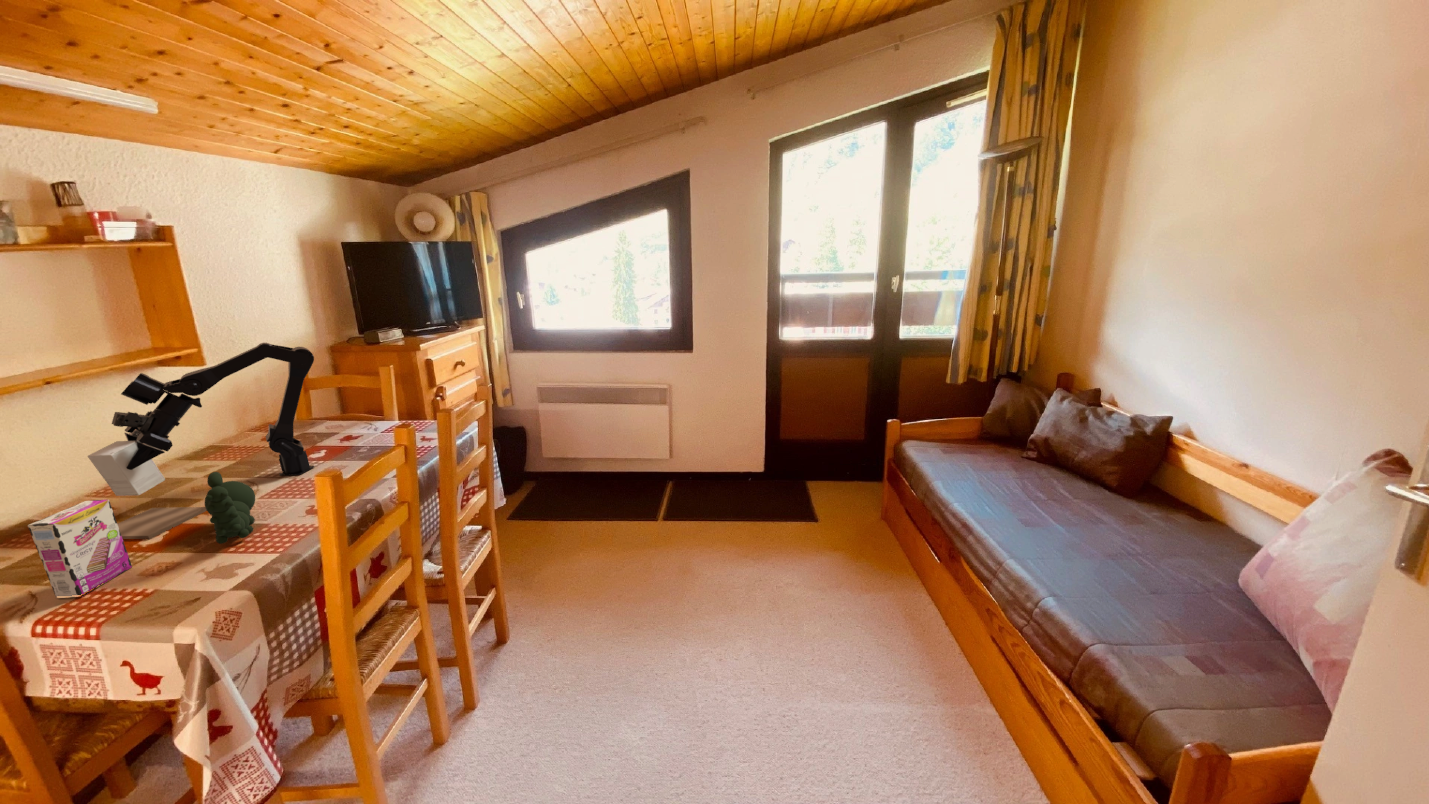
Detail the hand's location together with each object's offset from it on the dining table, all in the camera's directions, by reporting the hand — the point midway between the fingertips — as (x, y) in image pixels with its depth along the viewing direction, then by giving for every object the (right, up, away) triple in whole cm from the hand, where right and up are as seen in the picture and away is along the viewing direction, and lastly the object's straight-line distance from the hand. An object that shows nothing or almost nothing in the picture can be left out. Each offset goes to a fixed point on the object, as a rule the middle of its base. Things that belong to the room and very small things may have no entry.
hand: (124, 465), depth 142 cm
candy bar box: (+25, -21, -29) cm, 44 cm away
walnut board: (+11, -14, -4) cm, 19 cm away
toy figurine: (+37, -15, -9) cm, 41 cm away
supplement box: (+1, -6, +3) cm, 7 cm away
